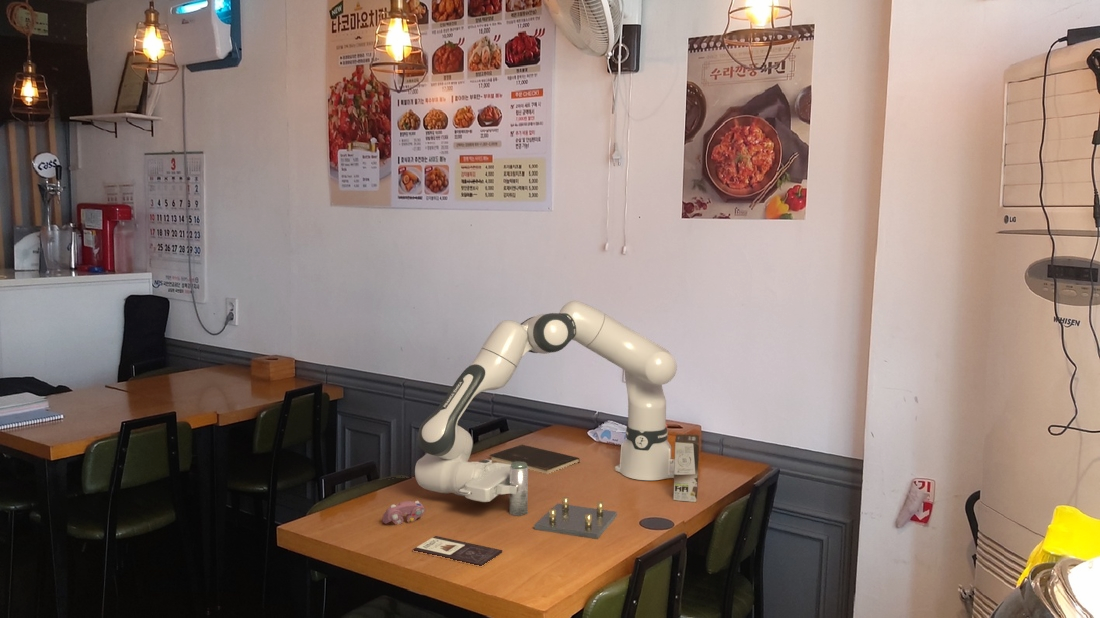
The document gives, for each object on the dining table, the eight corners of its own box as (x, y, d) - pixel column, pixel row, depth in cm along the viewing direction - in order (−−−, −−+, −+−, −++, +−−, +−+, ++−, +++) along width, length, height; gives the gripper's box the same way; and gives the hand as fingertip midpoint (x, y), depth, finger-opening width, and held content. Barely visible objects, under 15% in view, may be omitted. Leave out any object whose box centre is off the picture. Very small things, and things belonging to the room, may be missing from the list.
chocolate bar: (481, 564, 174) (412, 549, 182) (481, 569, 174) (412, 553, 182) (502, 550, 182) (435, 535, 190) (502, 554, 182) (435, 539, 190)
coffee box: (697, 502, 216) (699, 443, 214) (672, 500, 217) (674, 441, 216) (698, 491, 225) (699, 434, 223) (674, 489, 226) (676, 433, 224)
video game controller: (385, 533, 197) (389, 512, 194) (380, 519, 200) (384, 499, 197) (424, 526, 202) (428, 506, 198) (419, 513, 205) (422, 493, 202)
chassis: (557, 507, 211) (557, 492, 211) (616, 516, 205) (617, 500, 205) (534, 529, 196) (534, 512, 196) (597, 539, 190) (597, 521, 190)
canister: (513, 508, 210) (514, 460, 209) (530, 510, 209) (530, 462, 207) (506, 514, 206) (507, 465, 205) (523, 516, 204) (523, 467, 203)
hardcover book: (547, 476, 238) (547, 469, 238) (489, 461, 253) (489, 454, 253) (579, 464, 251) (579, 457, 251) (523, 450, 265) (523, 444, 265)
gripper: (454, 479, 201) (505, 486, 196) (489, 457, 220) (536, 463, 215) (454, 504, 202) (505, 511, 197) (489, 480, 221) (536, 486, 216)
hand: (521, 486), depth 206 cm, fingers closed on canister, 5 cm apart
